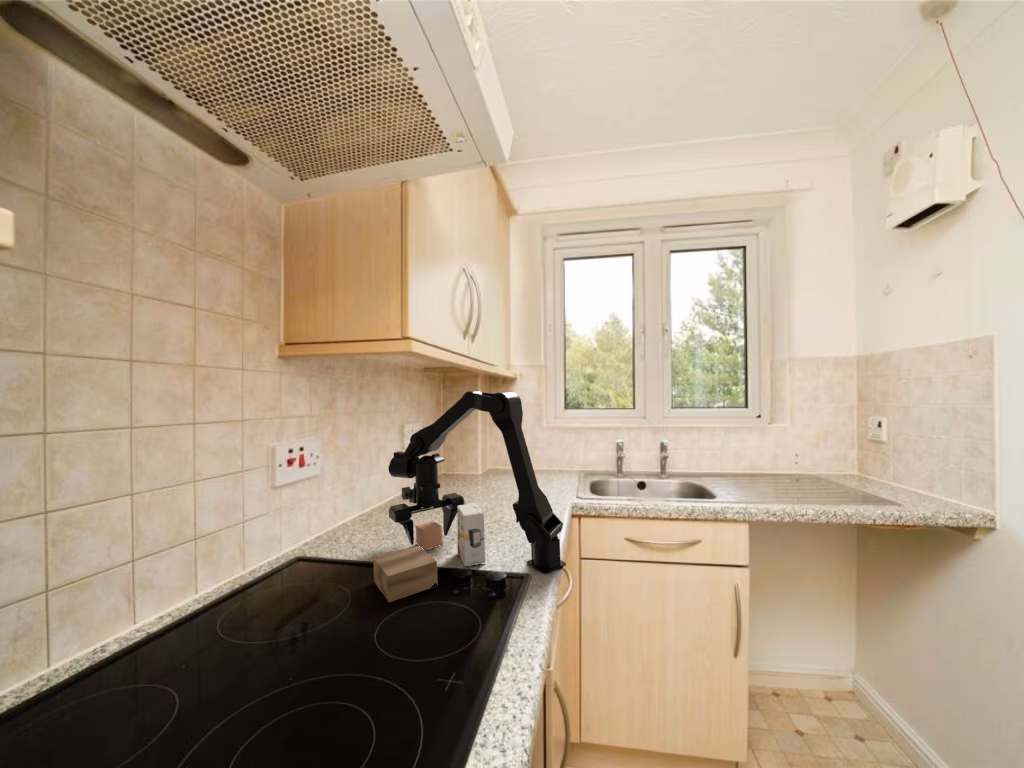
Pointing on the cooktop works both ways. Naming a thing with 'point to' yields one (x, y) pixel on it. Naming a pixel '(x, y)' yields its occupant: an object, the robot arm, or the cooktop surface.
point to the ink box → (471, 534)
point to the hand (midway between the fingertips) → (429, 539)
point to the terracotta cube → (429, 535)
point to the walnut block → (405, 573)
